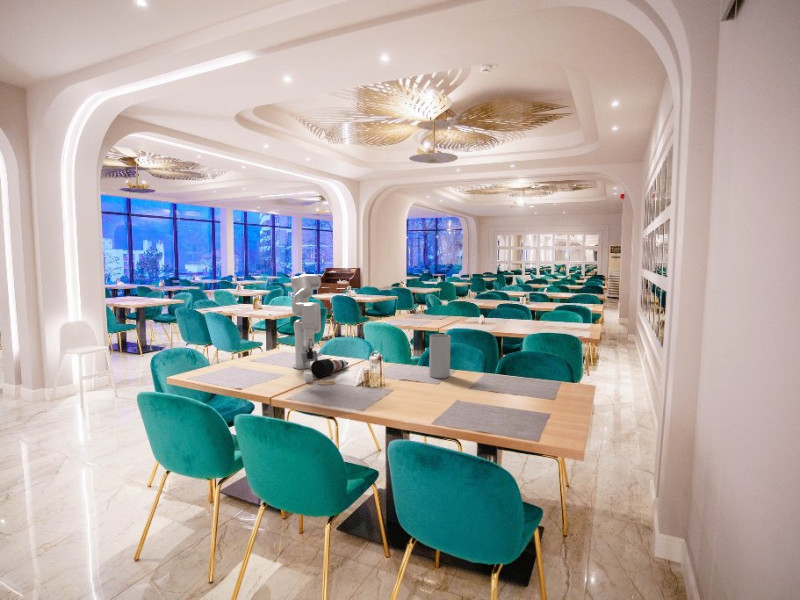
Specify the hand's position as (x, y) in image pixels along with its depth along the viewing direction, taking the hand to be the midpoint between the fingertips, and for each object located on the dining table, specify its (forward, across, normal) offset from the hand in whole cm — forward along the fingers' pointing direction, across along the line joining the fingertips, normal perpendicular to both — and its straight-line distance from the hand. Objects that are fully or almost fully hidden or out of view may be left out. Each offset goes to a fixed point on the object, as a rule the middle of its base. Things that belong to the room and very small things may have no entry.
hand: (309, 357), depth 258 cm
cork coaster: (+15, +1, +9) cm, 18 cm away
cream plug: (+15, -7, 0) cm, 17 cm away
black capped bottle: (+16, -23, +18) cm, 33 cm away
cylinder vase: (+15, +7, +78) cm, 80 cm away
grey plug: (+2, 0, +1) cm, 2 cm away
